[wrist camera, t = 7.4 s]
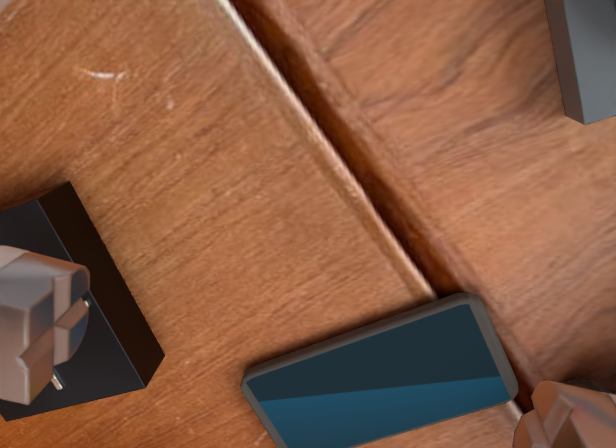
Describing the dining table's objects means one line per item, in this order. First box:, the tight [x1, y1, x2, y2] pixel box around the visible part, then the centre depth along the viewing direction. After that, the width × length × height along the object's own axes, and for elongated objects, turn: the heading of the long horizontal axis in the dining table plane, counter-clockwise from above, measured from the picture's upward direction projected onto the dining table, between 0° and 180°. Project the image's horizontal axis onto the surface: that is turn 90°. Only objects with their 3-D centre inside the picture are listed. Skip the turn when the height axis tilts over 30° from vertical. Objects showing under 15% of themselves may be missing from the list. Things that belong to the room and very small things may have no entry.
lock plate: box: [0, 181, 165, 422], centre depth 29 cm, size 12×10×3 cm
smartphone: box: [240, 292, 518, 448], centre depth 29 cm, size 8×15×1 cm, turn 117°
